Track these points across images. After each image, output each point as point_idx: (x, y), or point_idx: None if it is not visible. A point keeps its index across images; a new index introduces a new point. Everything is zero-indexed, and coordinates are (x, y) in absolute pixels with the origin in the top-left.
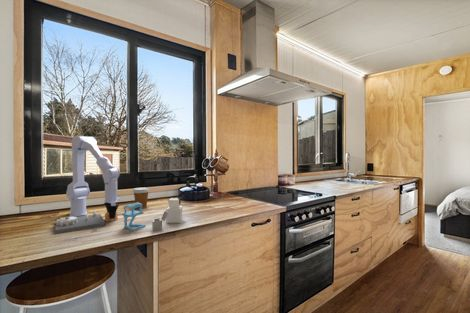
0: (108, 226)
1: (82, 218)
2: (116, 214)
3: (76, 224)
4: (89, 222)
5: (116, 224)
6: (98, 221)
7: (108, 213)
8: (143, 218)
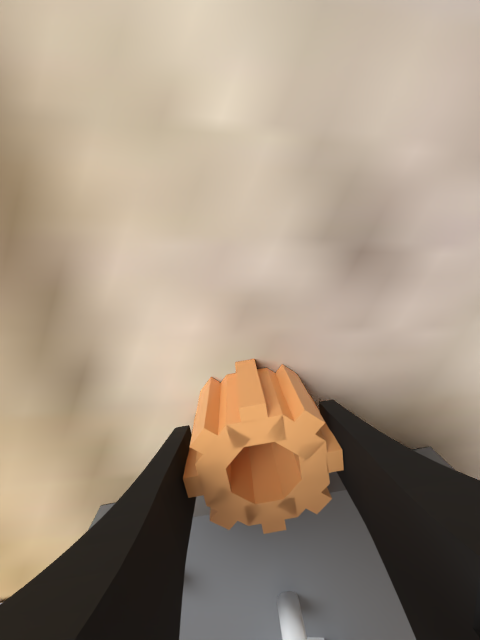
0: (467, 420)
1: (211, 629)
2: (303, 401)
3: (375, 630)
4: (369, 571)
5: (450, 361)
6: None
7: (277, 501)
8: (387, 18)
